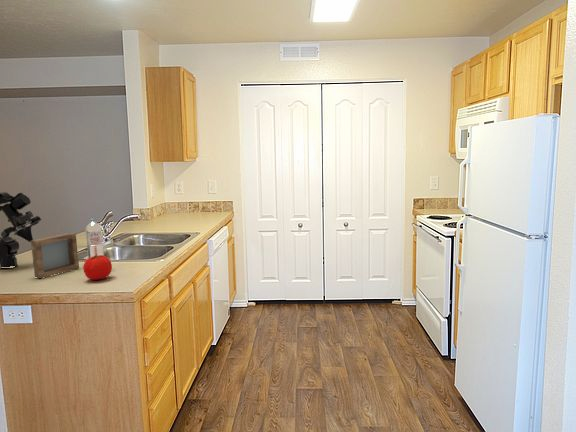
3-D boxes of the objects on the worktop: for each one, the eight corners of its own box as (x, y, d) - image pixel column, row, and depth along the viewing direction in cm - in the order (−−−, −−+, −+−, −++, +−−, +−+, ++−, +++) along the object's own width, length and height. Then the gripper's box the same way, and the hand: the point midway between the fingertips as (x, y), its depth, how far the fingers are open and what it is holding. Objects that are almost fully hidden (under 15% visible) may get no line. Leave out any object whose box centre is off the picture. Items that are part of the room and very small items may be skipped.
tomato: (104, 274, 207) (102, 250, 206) (117, 278, 200) (115, 253, 199) (79, 280, 198) (76, 255, 197) (92, 284, 191) (89, 259, 190)
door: (34, 275, 207) (30, 241, 205) (66, 267, 222) (63, 235, 220) (37, 276, 206) (33, 242, 204) (70, 267, 221) (67, 235, 218)
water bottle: (107, 268, 218) (102, 217, 214) (101, 272, 211) (97, 219, 208) (93, 269, 218) (88, 218, 214) (87, 273, 211) (82, 220, 207)
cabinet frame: (35, 278, 204) (30, 240, 202) (73, 267, 222) (70, 233, 219) (40, 279, 203) (36, 241, 200) (79, 268, 220) (75, 233, 218)
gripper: (0, 215, 210) (20, 243, 211) (36, 201, 225) (54, 227, 227) (-8, 224, 216) (11, 251, 218) (27, 210, 232) (45, 235, 233)
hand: (31, 241), depth 224 cm, fingers closed
